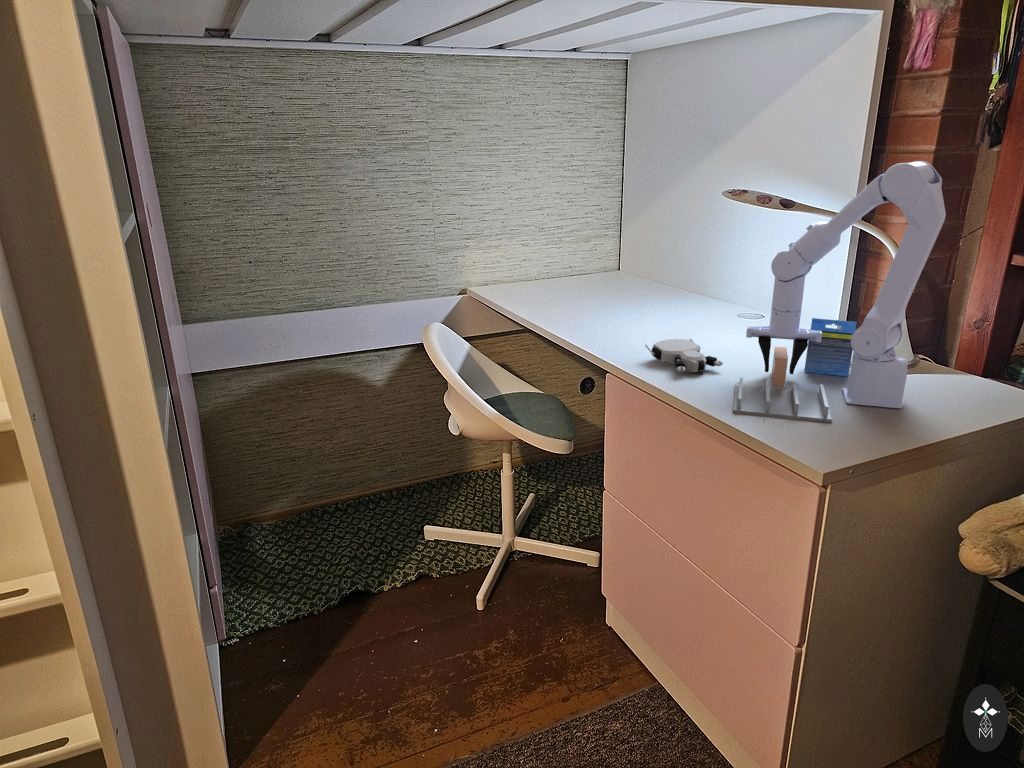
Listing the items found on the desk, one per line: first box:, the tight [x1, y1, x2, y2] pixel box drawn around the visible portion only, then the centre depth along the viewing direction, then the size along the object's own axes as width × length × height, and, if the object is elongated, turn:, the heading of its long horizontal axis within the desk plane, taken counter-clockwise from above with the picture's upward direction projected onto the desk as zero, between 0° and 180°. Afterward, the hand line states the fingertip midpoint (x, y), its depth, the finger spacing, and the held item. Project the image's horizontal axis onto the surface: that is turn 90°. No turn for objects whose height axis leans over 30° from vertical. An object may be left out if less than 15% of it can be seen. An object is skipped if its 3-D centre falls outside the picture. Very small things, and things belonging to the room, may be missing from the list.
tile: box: [771, 346, 789, 387], centre depth 145 cm, size 2×8×6 cm, turn 161°
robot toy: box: [644, 337, 724, 373], centre depth 155 cm, size 12×4×15 cm
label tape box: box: [804, 317, 857, 378], centre depth 147 cm, size 9×4×12 cm, turn 66°
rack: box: [732, 377, 833, 423], centre depth 132 cm, size 17×14×3 cm
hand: (778, 371), depth 146 cm, fingers open, 4 cm apart
